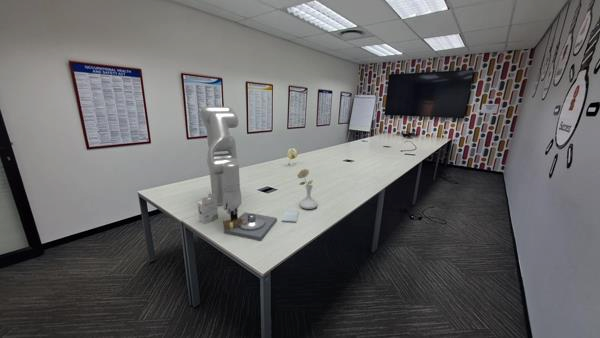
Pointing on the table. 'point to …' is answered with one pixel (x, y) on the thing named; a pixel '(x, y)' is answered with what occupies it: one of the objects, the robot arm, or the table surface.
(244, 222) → the wooden handled frying pan
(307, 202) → the flower in vase
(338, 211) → the table surface
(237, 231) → the base plate
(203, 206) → the ink box
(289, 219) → the hard drive
